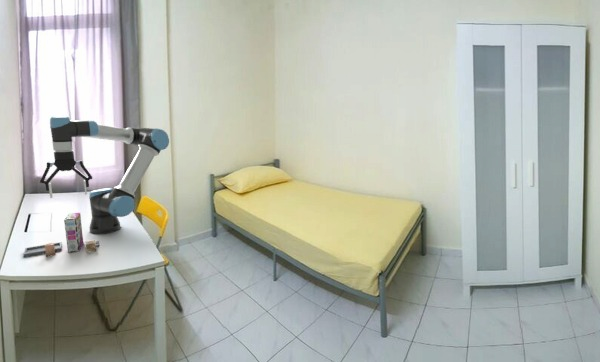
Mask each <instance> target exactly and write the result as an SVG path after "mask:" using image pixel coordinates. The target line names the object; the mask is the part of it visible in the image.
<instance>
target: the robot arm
mask: <svg viewBox="0 0 600 362" xmlns="http://www.w3.org/2000/svg"><path fill="white" fill-rule="evenodd" d="M49 125H50V127H49V129H50V133H51V139H52V142H51V143H52V148H53V151H54V152H53V157H54V162H53V161H51V162H50V161H47V162H46V168H45V170H44V172H43V174H42V176H41V178H40V181H39V183H40V184H44V185H45V190H46V192H49V197H50V199H53V191H52V190H53V189H52V188H53V187H52V183H51V181H52V180H53V178H54V177H55V176H56V175H57V174H58V173H59V172H66V171H67V172H70V171H73V172H74V173H76V174H77V175H78V176H80V178H82V179H83V186H84V188H83V189H84V194H85V196H86V195H88V191H87V190H88V189H87V188H89V187H90V183H89V181H90V180H93V176H92V174H91V173H90V171H89V169H87V167H86V166H85V165H84V163H83V160H82V159H80V160H75V152H74V151H73V150H74V144H73V138H81V137H83V138H90V139H100V140H105V141H107V140H108V141H116V142H123V143H124V144H126V145H133V146H136V147H138V148H139V150H138V151H137V153H136V155H135V156H134V158H133V160H132V162H131V164H130V165H129V167H128V168H127V170H126V172H125V174H124V176H123V177H122V179H121V181H120V182H119V184H118V185H117V186H114V187H113V188H112V187H110V188H109V187H108V188H99V189H94V190H91V191H90V192H89V203H90V204H89V205H90V211H91V212H90V213H91V220H90V223H89V228H88V229H89V233H91V234H99V235H100V234H108V233H114V232H116V231H118V230H120V228H121V222H120V220H119V218H123V217H124V218H125V217H126V216H129V215H130V214H131V213H132V212H133V211H134V210H135V206H136V204H135V199H136V195H135V192H136V190H137V188H138V187H139V185H140V183H141V181H142V180H143V178H144V176H145V174H146V172H147V171H148V169H149V167H150V165H151V163H152V162H153V159H154V158H155V157H156V156H159V155H160V152H161V151H163V150H165V149H167V148H168V147H169V144H170V138H169V135H168V133H167V132H166V131H165V130H164V129H161V128H150V127H148V128H147V127H126V128H123V127H118V126H111V125H110V126H109V125H106V124H105V125H104V124H99V123H97V122H96V121H94V120H75V119H74V120H73V119H70V117H69V116H52V117H50V118H49ZM76 165H78V166H80V167H81V169H82V170H83V172H84V173H85V174H86V175H87V176H86V175H85V174H84V173H82V172H81V171H80V170H79V169H78V168H76V167H75V166H76ZM53 166H54V167H56V169H55V170H54V171H53V172H52V173H51V175H50V176H49V177H47V175H48V173H49V171H50V169H51V168H52V167H53ZM46 177H47V179H46Z"/></svg>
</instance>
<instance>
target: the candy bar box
mask: <svg viewBox="0 0 600 362" xmlns="http://www.w3.org/2000/svg"><path fill="white" fill-rule="evenodd" d="M81 216H82V215H81V212H72V213H68V215H67V216H66V217H65V218H64V220H63V221H64V229H65V237H66V239H65V240H66V246H67V253H77V252H80V251H81V248H82V247H83V245H84V237H83V235H84V234H83V227H82V217H81Z"/></svg>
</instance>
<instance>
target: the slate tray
mask: <svg viewBox="0 0 600 362" xmlns="http://www.w3.org/2000/svg"><path fill="white" fill-rule="evenodd" d="M53 243H54V246H55V253H57V252H62V251H63V250H62V249H63V243H62V242H53ZM45 245H46V244H42V245H35V246H29V247H25V249H24V251H23V258H27V257H32V256H39V255H44V254H45V255H46V251H45Z"/></svg>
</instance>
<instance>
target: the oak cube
mask: <svg viewBox="0 0 600 362" xmlns="http://www.w3.org/2000/svg"><path fill="white" fill-rule="evenodd" d="M95 242H96V240H89V241H88V240H87V241H85V250H86V253H89V252H90V253H91V252H96V251H97V247H96V243H95Z"/></svg>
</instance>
